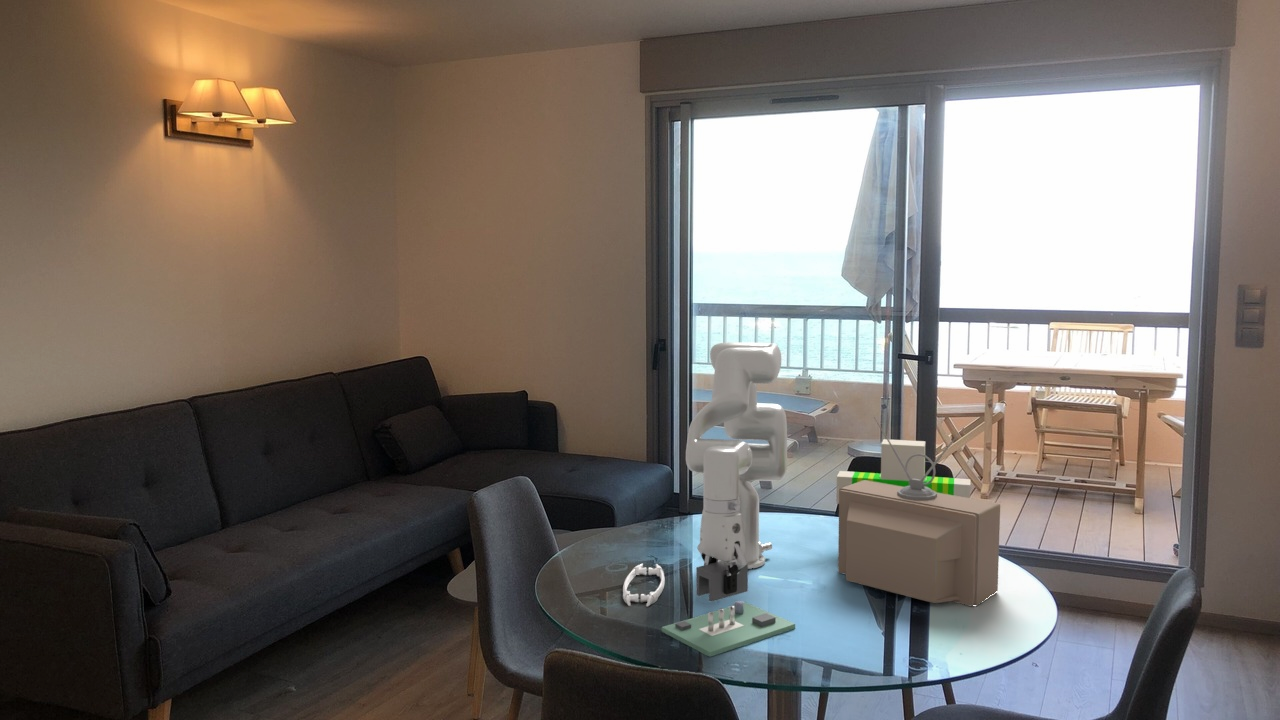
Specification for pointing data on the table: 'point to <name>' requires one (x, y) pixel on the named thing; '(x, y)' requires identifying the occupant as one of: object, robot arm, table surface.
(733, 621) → the pins
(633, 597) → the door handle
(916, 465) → the toy
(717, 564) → the block
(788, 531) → the table surface
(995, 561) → the television
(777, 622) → the board
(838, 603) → the table surface
